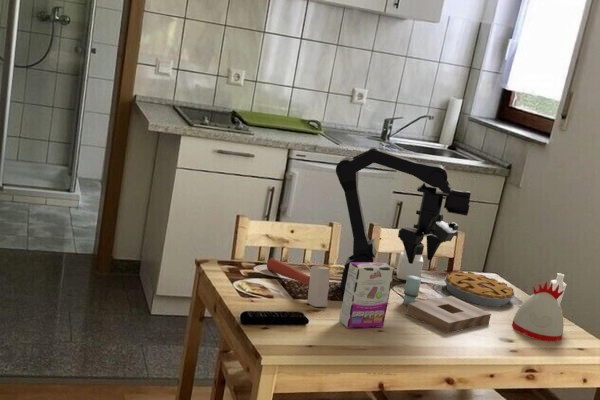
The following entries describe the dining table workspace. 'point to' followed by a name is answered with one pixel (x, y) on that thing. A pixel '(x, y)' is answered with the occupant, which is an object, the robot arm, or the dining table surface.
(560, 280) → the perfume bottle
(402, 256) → the medicine bottle
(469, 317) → the socket board
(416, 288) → the stepped peg
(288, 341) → the dining table surface
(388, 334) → the dining table surface
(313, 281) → the mallet
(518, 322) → the kitchen timer
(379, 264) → the candy bar box
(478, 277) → the pie
